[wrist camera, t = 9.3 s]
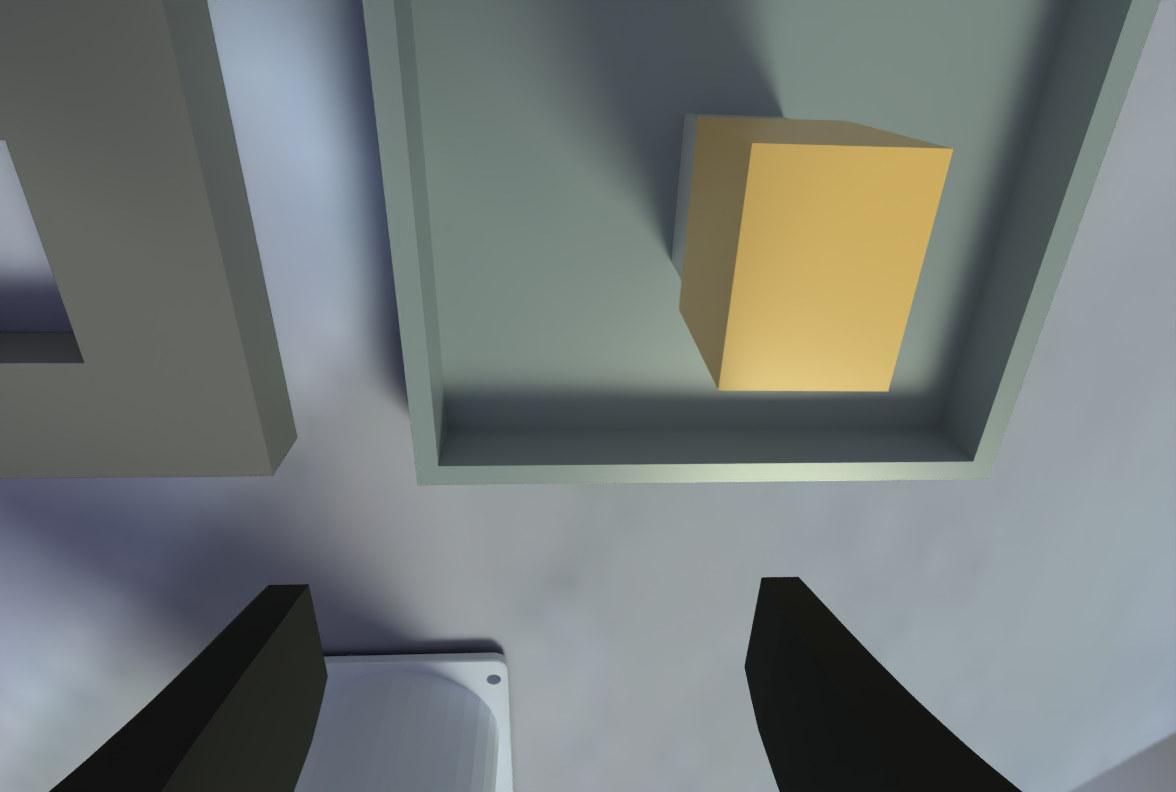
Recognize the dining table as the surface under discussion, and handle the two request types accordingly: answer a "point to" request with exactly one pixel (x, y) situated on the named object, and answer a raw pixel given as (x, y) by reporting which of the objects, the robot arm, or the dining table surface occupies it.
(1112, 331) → the dining table surface
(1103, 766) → the dining table surface
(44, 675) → the dining table surface
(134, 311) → the fuse holder
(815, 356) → the block
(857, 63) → the parts tray
